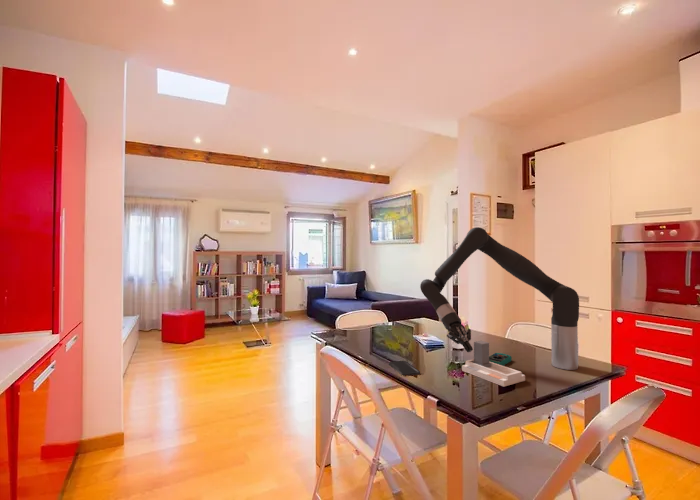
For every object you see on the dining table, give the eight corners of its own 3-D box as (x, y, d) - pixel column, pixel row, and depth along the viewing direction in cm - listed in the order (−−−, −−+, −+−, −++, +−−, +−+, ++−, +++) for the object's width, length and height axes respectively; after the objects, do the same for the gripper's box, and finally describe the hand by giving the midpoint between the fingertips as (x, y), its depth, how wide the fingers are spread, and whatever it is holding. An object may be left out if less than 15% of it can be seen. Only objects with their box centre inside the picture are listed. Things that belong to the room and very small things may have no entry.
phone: (405, 360, 147) (421, 372, 132) (405, 363, 147) (421, 375, 132) (387, 361, 145) (402, 373, 130) (387, 364, 145) (402, 376, 130)
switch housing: (482, 365, 142) (482, 357, 142) (525, 380, 125) (525, 371, 125) (461, 370, 136) (461, 361, 136) (503, 386, 120) (503, 376, 120)
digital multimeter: (512, 361, 149) (512, 354, 149) (500, 370, 138) (500, 362, 138) (495, 358, 154) (495, 351, 154) (482, 366, 143) (482, 358, 143)
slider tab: (480, 362, 138) (480, 340, 139) (490, 366, 134) (490, 343, 134) (472, 364, 136) (472, 341, 136) (482, 368, 132) (482, 344, 132)
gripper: (441, 312, 145) (463, 348, 135) (463, 310, 152) (486, 344, 141) (432, 322, 150) (453, 358, 139) (454, 320, 156) (476, 353, 146)
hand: (470, 351), depth 140 cm, fingers closed
